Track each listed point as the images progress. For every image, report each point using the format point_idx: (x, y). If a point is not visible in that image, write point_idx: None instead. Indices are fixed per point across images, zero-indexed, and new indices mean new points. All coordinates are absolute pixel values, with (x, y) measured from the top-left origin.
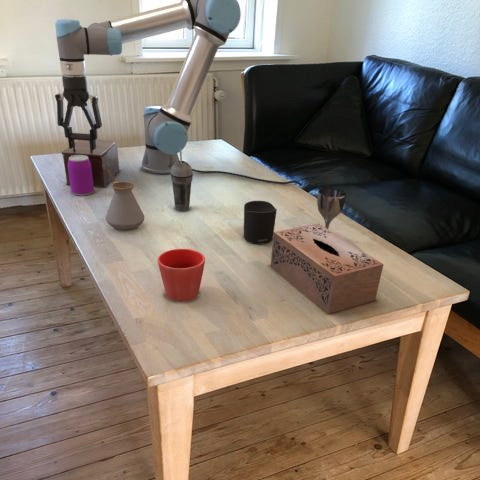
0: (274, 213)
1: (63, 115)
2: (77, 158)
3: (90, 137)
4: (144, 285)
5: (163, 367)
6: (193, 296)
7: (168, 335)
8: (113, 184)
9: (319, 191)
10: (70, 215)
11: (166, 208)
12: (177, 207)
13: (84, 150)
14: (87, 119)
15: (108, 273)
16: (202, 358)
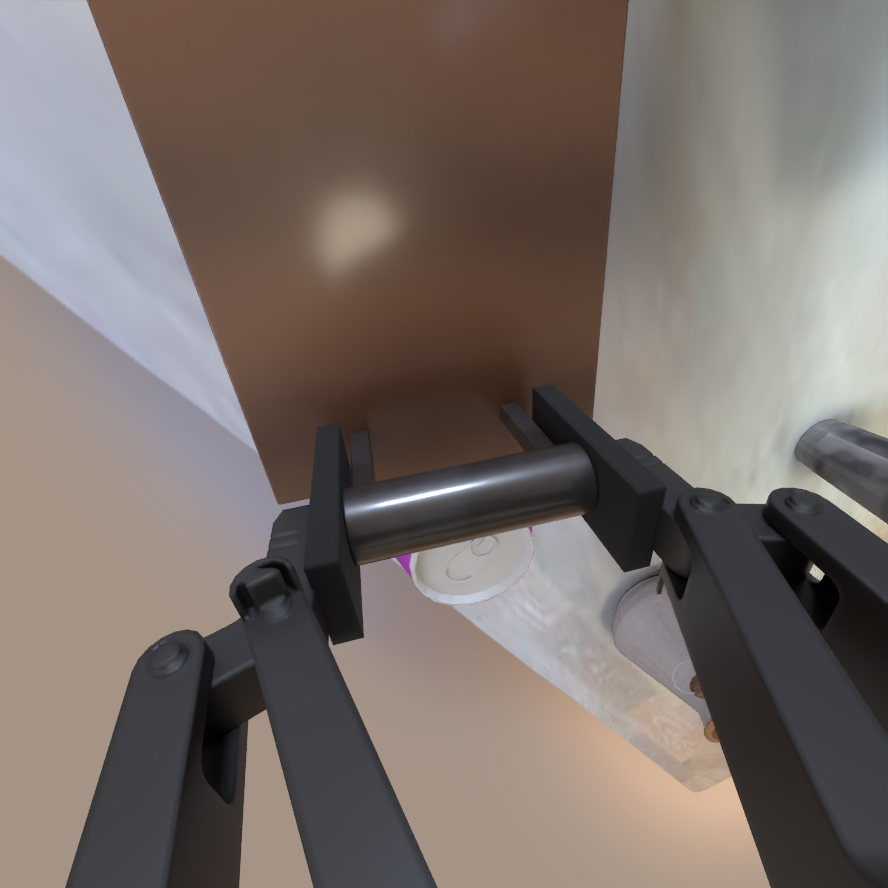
0: None
1: (180, 798)
2: (466, 561)
3: (584, 516)
4: (693, 721)
5: (709, 785)
6: None
7: (718, 762)
8: (713, 729)
9: None
10: (480, 610)
11: (766, 458)
12: (808, 466)
13: (425, 379)
14: (708, 699)
15: (636, 725)
16: None
